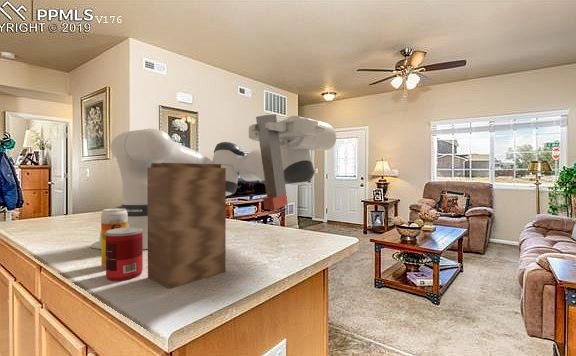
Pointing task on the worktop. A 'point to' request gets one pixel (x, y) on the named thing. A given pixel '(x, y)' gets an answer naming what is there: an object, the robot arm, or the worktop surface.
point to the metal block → (271, 164)
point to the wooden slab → (186, 222)
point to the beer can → (111, 226)
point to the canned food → (124, 253)
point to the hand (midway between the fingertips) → (259, 126)
